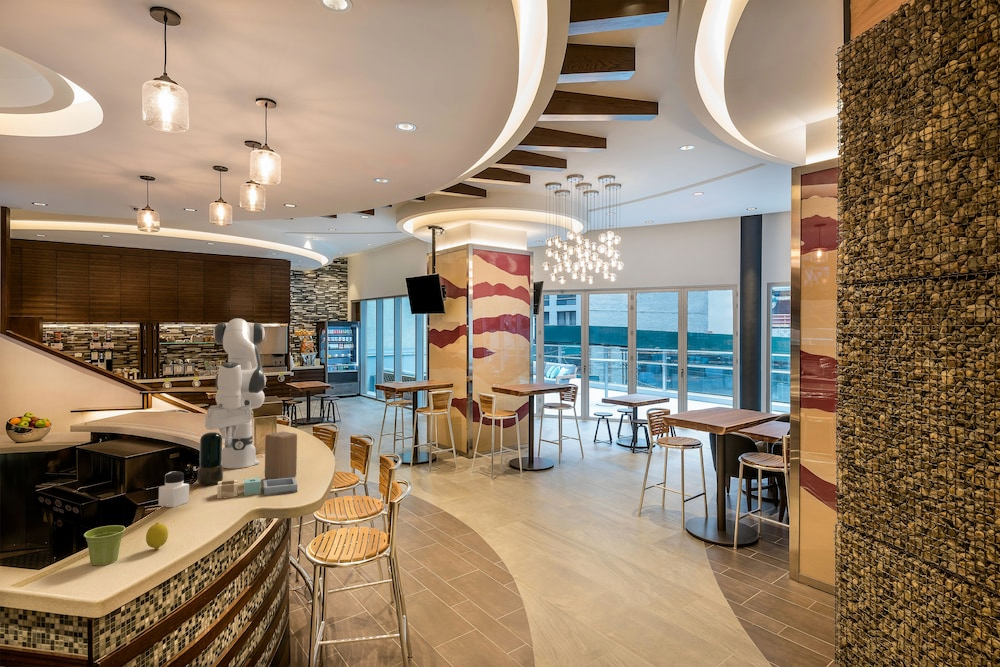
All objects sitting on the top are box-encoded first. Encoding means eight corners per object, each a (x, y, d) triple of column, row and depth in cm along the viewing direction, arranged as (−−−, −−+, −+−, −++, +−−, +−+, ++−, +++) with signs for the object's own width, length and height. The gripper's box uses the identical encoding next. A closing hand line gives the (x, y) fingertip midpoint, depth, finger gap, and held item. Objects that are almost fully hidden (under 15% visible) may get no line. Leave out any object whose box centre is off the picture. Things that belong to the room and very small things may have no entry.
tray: (263, 487, 220) (263, 480, 220) (294, 484, 226) (294, 477, 226) (264, 495, 209) (264, 488, 209) (297, 491, 215) (297, 484, 215)
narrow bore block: (244, 491, 214) (244, 479, 214) (260, 489, 217) (260, 477, 217) (244, 495, 209) (244, 483, 209) (260, 493, 211) (260, 481, 211)
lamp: (227, 482, 227) (228, 431, 227) (206, 487, 219) (207, 435, 219) (213, 478, 232) (214, 429, 232) (192, 484, 223) (193, 433, 223)
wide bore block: (218, 493, 210) (218, 481, 210) (237, 491, 213) (237, 479, 213) (217, 498, 204) (217, 486, 204) (237, 496, 207) (237, 484, 207)
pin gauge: (225, 446, 210) (226, 422, 210) (232, 446, 210) (233, 422, 211) (223, 448, 207) (224, 423, 207) (231, 448, 208) (231, 423, 208)
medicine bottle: (189, 502, 199) (190, 471, 200) (173, 508, 193) (173, 475, 193) (174, 500, 201) (175, 469, 201) (158, 506, 195) (158, 474, 195)
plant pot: (120, 552, 154) (120, 522, 154) (128, 561, 147) (129, 530, 147) (79, 561, 147) (80, 531, 147) (87, 572, 140) (88, 540, 140)
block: (263, 478, 233) (264, 434, 233) (282, 473, 242) (283, 431, 242) (278, 482, 228) (279, 436, 228) (297, 476, 237) (298, 433, 237)
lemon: (170, 549, 156) (170, 522, 156) (148, 554, 152) (149, 527, 152) (164, 544, 160) (165, 518, 160) (143, 549, 156) (143, 522, 156)
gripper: (214, 406, 198) (213, 442, 198) (254, 400, 218) (253, 433, 218) (201, 405, 200) (200, 441, 200) (242, 399, 220) (241, 432, 219)
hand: (228, 437), depth 209 cm, fingers closed on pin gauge, 3 cm apart
